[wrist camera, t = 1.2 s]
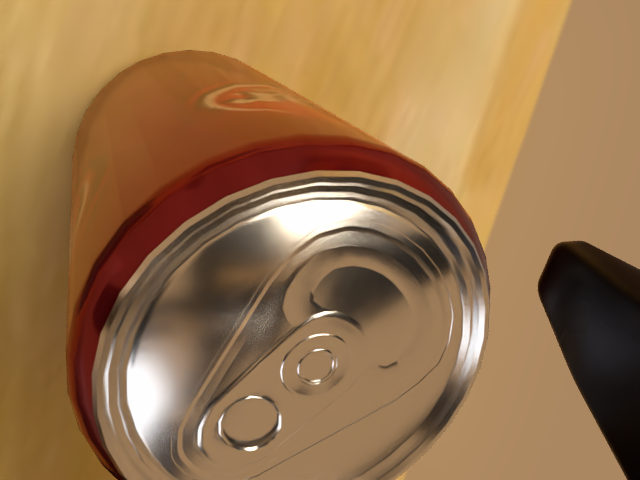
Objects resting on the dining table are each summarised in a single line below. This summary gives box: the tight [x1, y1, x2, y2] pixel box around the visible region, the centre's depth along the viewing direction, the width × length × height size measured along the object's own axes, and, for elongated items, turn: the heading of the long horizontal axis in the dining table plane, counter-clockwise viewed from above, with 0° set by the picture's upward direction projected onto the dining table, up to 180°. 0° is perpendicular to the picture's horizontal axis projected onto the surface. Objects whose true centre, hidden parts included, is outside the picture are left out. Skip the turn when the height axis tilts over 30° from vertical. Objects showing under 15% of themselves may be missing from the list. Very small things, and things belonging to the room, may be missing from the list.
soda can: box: [66, 50, 490, 480], centre depth 15 cm, size 7×7×12 cm
